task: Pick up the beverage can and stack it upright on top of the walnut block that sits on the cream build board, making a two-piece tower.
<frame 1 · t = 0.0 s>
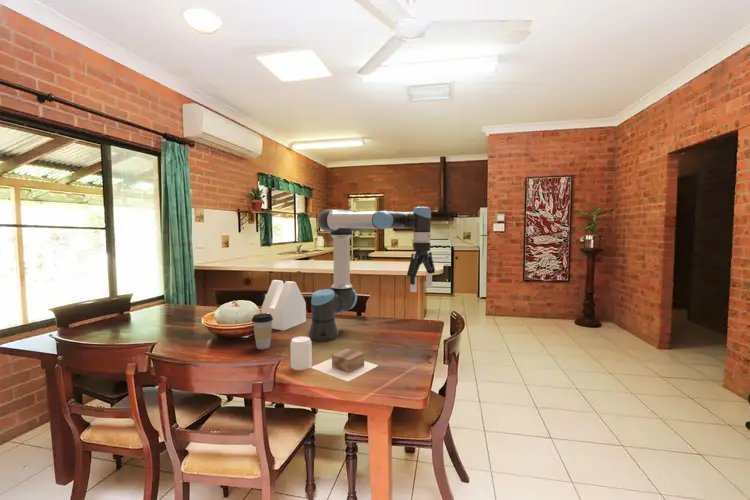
hand: (421, 289, 156), 28 cm above the table, fingers open, 13 cm apart
coffee cup: (263, 347, 162), on the table
beverage can: (301, 369, 138), on the table
build board: (344, 369, 137), on the table
walnut block: (348, 366, 137), point 1 cm above the table, touching build board
white slotted holder: (284, 324, 200), on the table
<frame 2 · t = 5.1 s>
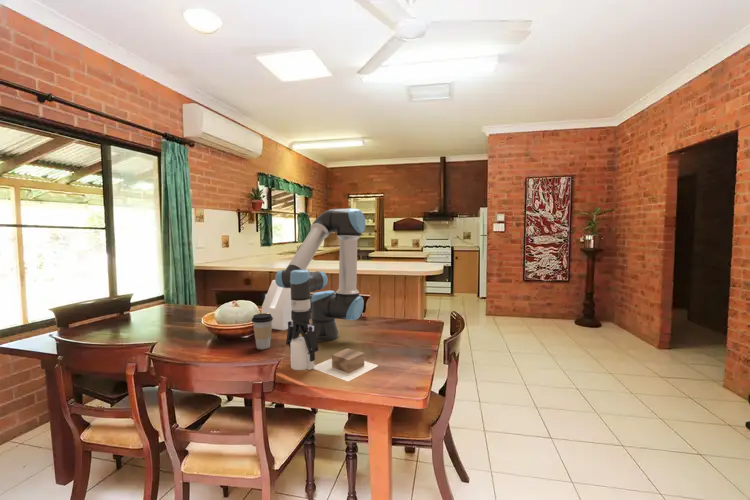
hand: (302, 365, 137), 1 cm above the table, fingers open, 9 cm apart
nothing on the table moved.
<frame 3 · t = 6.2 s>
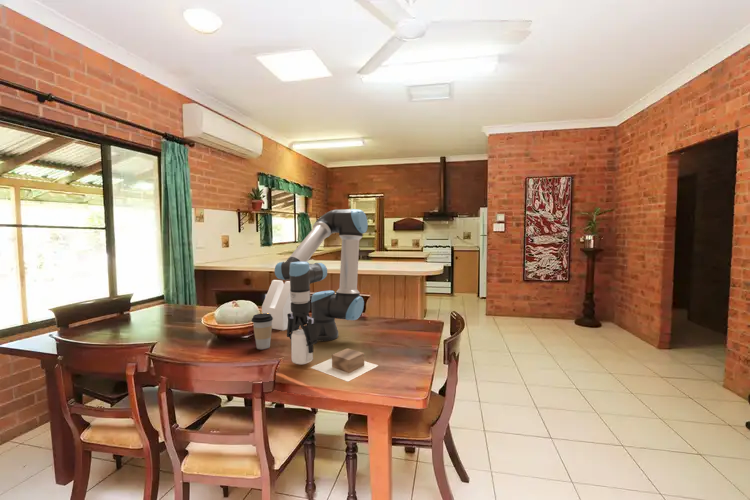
hand: (302, 357, 138), 4 cm above the table, fingers closed on beverage can, 8 cm apart
beverage can: (302, 361, 138), point 3 cm above the table, touching gripper
everything else where it was.
when the fingers open (8 cm above the table, at t = 10.6 s): beverage can stays where it is, resting on walnut block.
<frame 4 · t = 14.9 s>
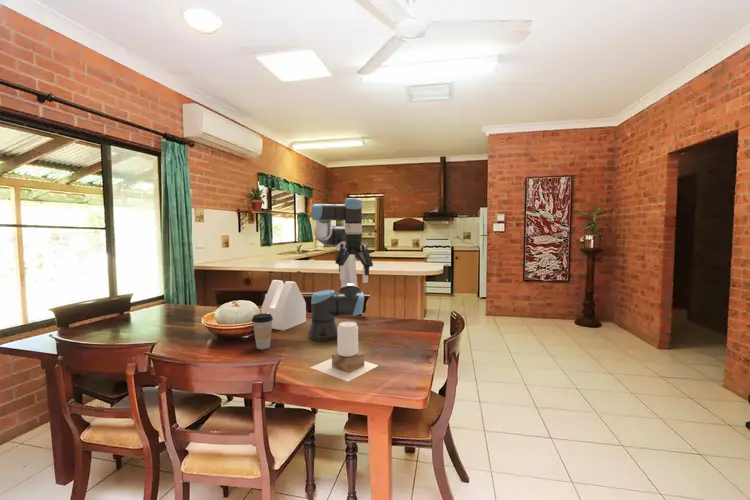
hand: (353, 281, 156), 32 cm above the table, fingers open, 13 cm apart
beverage can: (347, 354, 137), point 6 cm above the table, touching walnut block
walnut block: (348, 366, 137), point 1 cm above the table, touching beverage can, build board
everything else where it was.
at the end: beverage can 0.1 cm from the walnut block (horizontally); beverage can point 6.0 cm above the table; beverage can tilted 0° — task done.
